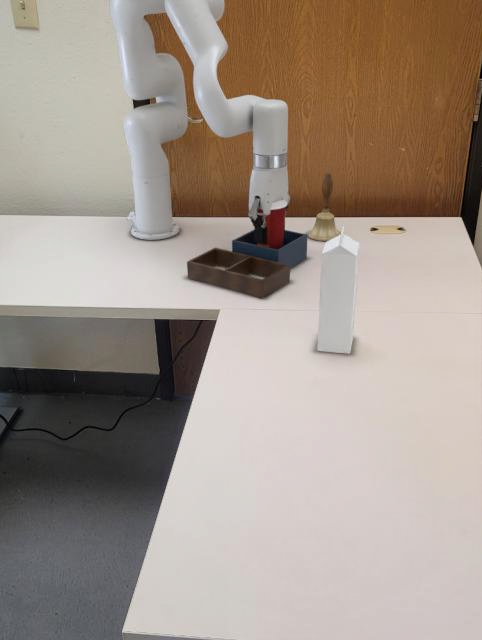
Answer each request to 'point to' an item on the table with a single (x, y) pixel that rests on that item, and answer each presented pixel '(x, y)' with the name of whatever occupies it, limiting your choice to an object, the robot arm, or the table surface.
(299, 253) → the blue square tray
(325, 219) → the hand bell
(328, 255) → the milk
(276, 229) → the paper cup
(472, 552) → the table surface
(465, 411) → the table surface
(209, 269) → the wooden divided tray
